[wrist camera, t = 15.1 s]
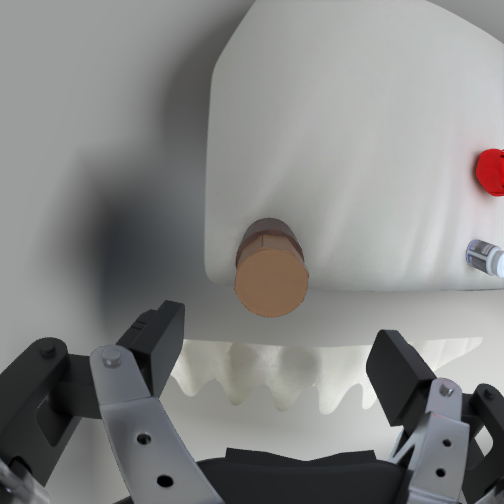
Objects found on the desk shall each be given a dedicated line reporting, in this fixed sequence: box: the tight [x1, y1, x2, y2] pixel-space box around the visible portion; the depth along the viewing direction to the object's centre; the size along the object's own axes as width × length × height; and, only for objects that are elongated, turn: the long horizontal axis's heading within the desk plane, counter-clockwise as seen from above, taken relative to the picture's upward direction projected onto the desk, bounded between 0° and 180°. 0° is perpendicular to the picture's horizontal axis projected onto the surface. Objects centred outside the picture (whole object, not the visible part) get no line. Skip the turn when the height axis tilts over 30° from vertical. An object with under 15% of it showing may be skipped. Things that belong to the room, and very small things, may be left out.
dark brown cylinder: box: [236, 218, 304, 269], centre depth 31 cm, size 7×7×14 cm
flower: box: [476, 149, 504, 196], centre depth 29 cm, size 8×8×8 cm
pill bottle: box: [466, 240, 504, 278], centre depth 32 cm, size 5×5×8 cm
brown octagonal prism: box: [234, 234, 309, 317], centre depth 25 cm, size 6×6×6 cm
